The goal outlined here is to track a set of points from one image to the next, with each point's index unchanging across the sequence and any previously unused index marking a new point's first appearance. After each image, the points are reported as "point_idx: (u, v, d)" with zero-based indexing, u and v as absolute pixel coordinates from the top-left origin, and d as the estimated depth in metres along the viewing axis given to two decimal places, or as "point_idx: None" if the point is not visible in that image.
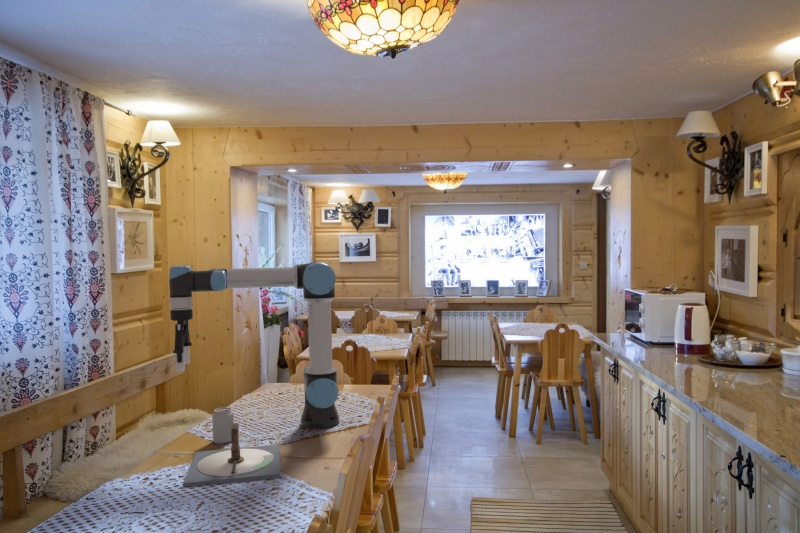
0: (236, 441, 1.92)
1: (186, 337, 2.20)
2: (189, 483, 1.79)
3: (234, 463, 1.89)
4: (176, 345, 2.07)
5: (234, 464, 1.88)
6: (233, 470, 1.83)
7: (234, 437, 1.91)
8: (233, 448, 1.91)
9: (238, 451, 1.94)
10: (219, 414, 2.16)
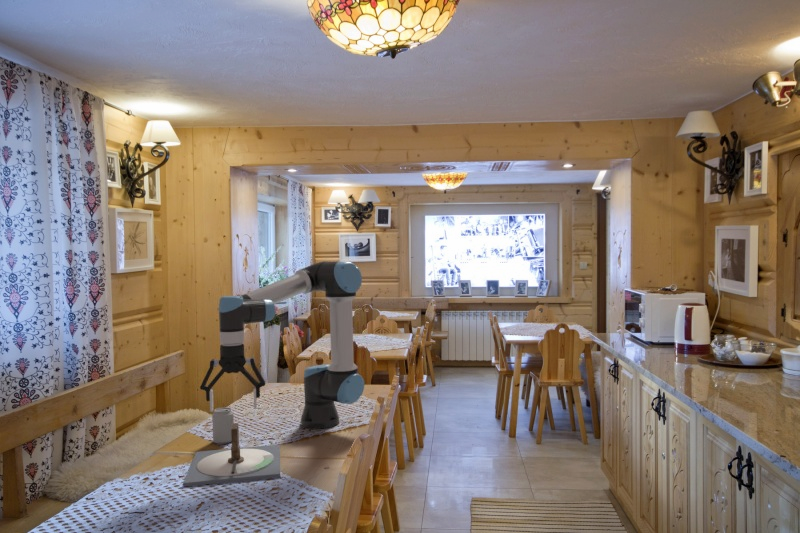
0: (236, 441, 1.92)
1: (246, 377, 1.94)
2: (189, 483, 1.79)
3: (234, 463, 1.89)
4: None
5: (234, 464, 1.88)
6: (233, 470, 1.83)
7: (234, 437, 1.91)
8: (233, 448, 1.91)
9: (238, 451, 1.94)
10: (219, 414, 2.16)
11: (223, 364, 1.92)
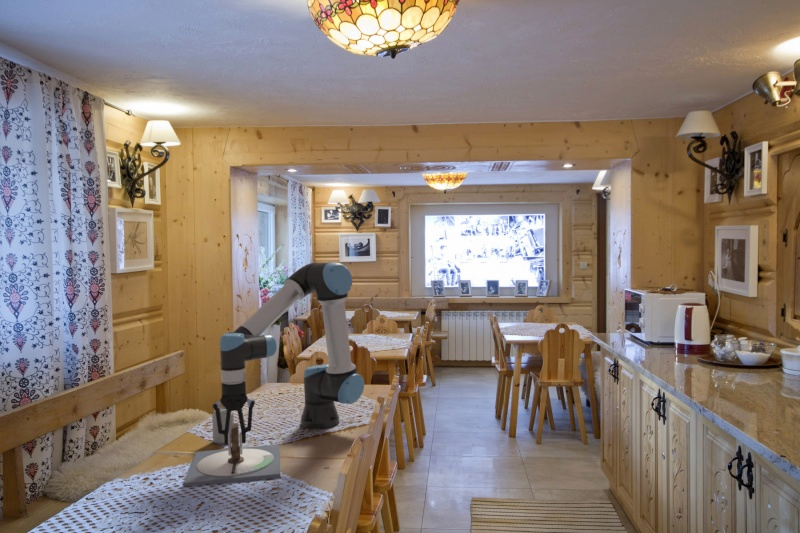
0: (236, 441, 1.92)
1: (239, 418, 1.94)
2: (189, 483, 1.79)
3: (234, 463, 1.89)
4: None
5: (234, 464, 1.88)
6: (233, 470, 1.83)
7: (234, 437, 1.91)
8: (233, 448, 1.91)
9: (238, 451, 1.94)
10: None
11: (225, 401, 1.93)
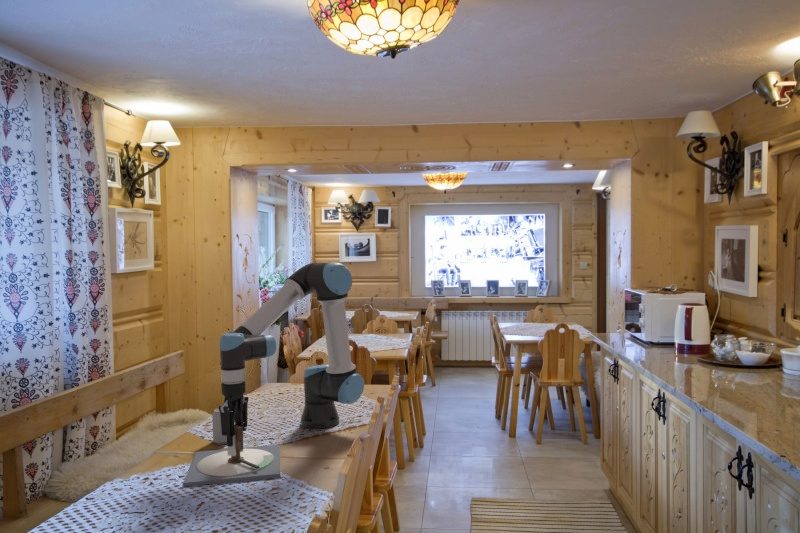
0: (242, 440, 1.93)
1: (239, 416, 1.96)
2: (189, 483, 1.79)
3: (245, 461, 1.91)
4: (222, 429, 1.89)
5: (246, 462, 1.90)
6: (256, 465, 1.87)
7: (240, 436, 1.92)
8: (239, 447, 1.92)
9: (239, 450, 1.95)
10: (219, 414, 2.16)
11: (232, 402, 1.91)
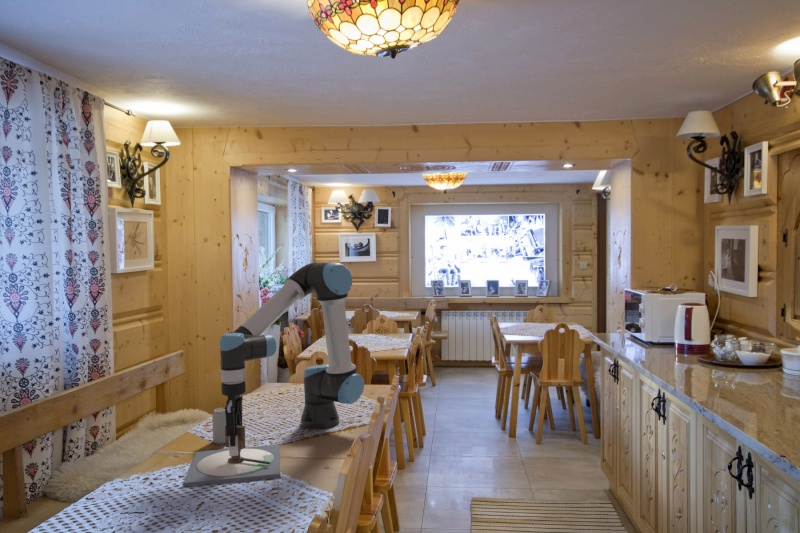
0: (244, 439, 1.94)
1: (238, 416, 1.96)
2: (189, 483, 1.79)
3: (250, 459, 1.93)
4: (228, 429, 1.89)
5: (252, 459, 1.92)
6: (266, 461, 1.90)
7: (243, 435, 1.93)
8: (242, 446, 1.93)
9: None
10: (219, 414, 2.16)
11: (235, 402, 1.92)
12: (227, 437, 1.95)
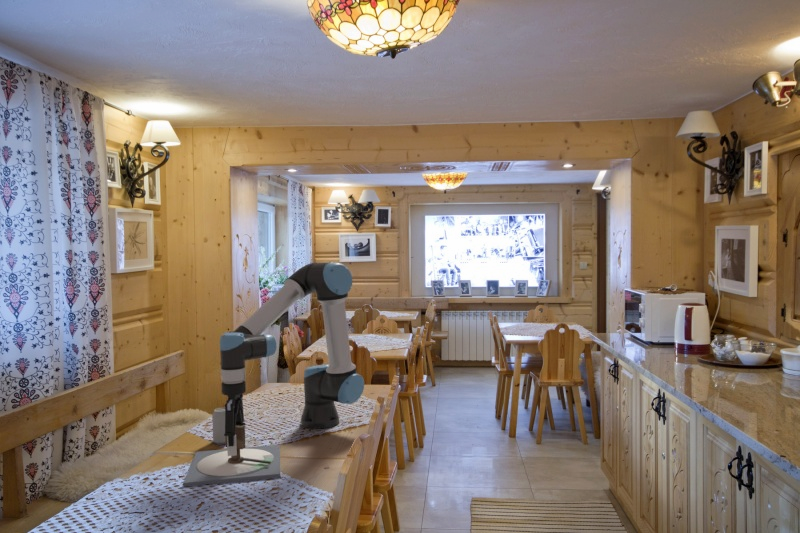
0: (244, 438, 1.94)
1: (239, 414, 1.97)
2: (189, 483, 1.79)
3: (250, 459, 1.93)
4: (226, 428, 1.87)
5: (252, 459, 1.92)
6: (266, 461, 1.91)
7: (243, 435, 1.93)
8: (242, 446, 1.93)
9: None
10: (219, 414, 2.16)
11: (235, 402, 1.92)
12: None
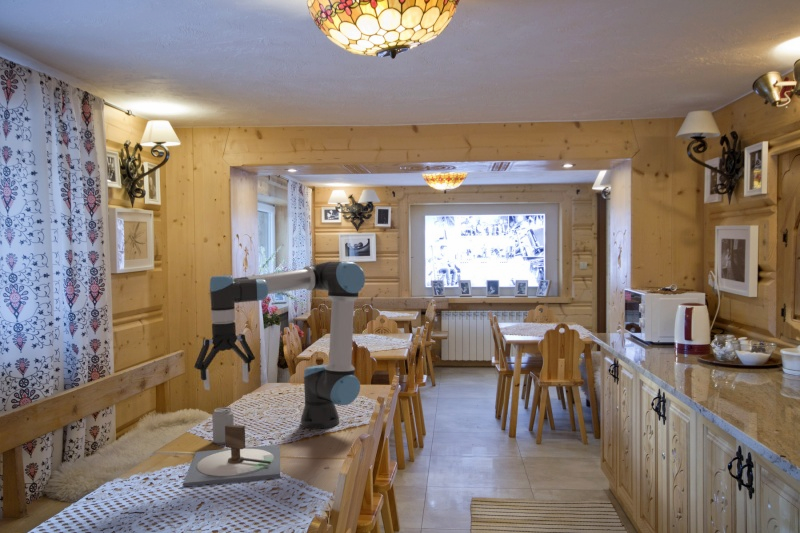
0: (244, 438, 1.94)
1: (238, 353, 2.02)
2: (189, 483, 1.79)
3: (250, 459, 1.93)
4: (197, 361, 1.94)
5: (252, 459, 1.92)
6: (266, 461, 1.91)
7: (243, 435, 1.93)
8: (243, 446, 1.93)
9: None
10: (219, 414, 2.16)
11: (218, 342, 1.97)
12: (227, 437, 1.95)
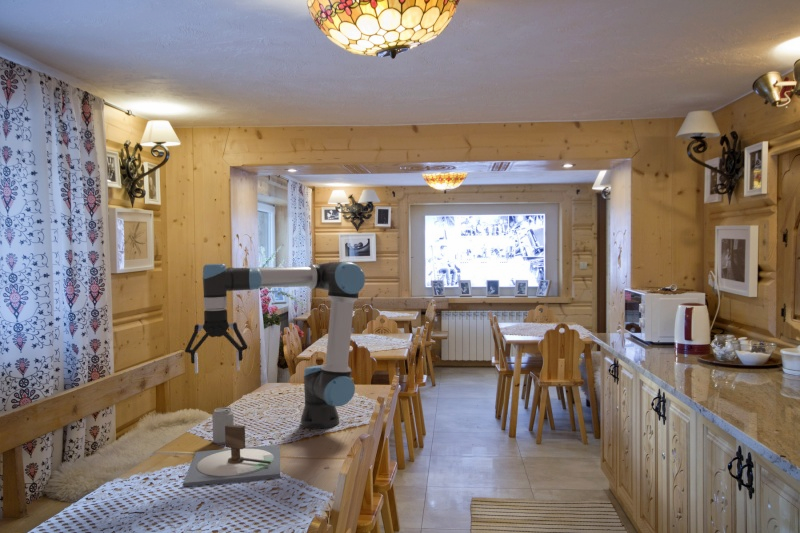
0: (244, 438, 1.94)
1: None
2: (189, 483, 1.79)
3: (250, 459, 1.93)
4: None
5: (252, 459, 1.92)
6: (266, 461, 1.91)
7: (243, 435, 1.93)
8: (243, 446, 1.93)
9: None
10: (219, 414, 2.16)
11: (207, 328, 2.02)
12: (227, 437, 1.95)
